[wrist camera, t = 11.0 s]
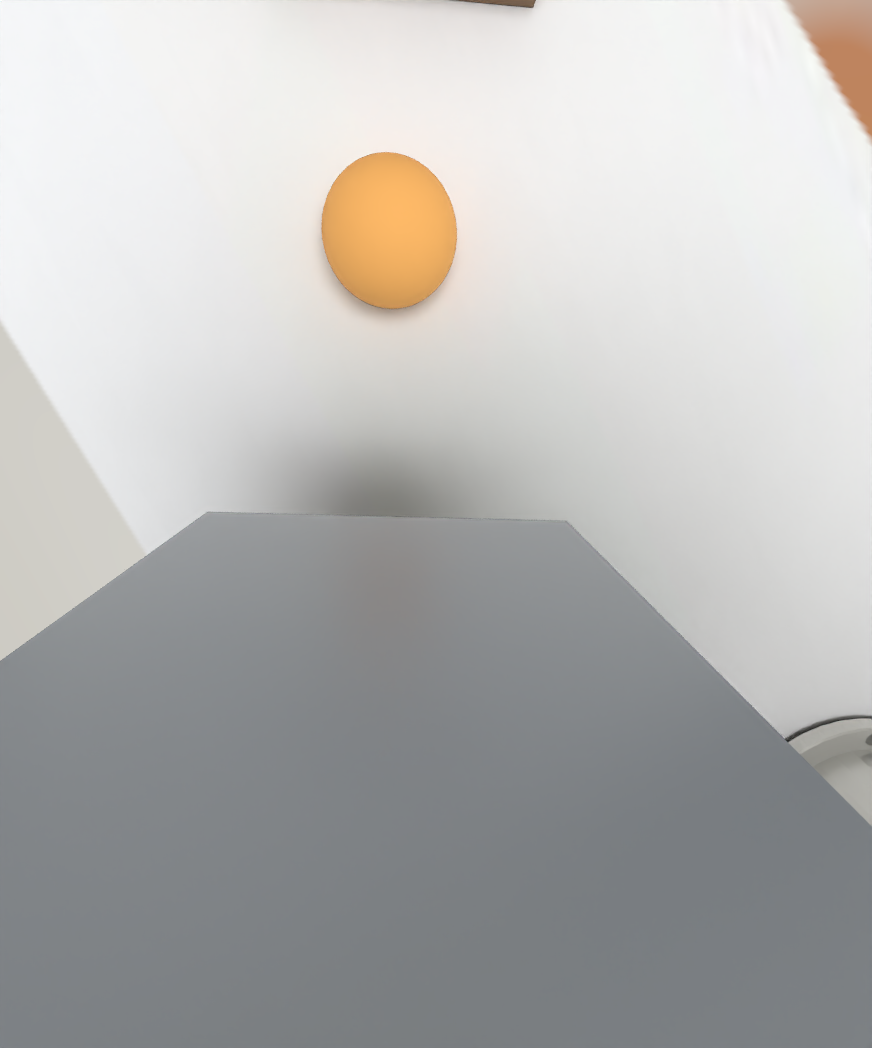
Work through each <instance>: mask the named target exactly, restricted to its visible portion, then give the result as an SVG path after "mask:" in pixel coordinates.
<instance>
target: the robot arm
mask: <svg viewBox="0 0 872 1048" xmlns="http://www.w3.org/2000/svg"><path fill="white" fill-rule="evenodd" d="M788 743H789V744H790V745H791V746H792V747H793V748H794V749H795V750H796V751H797V752H798V753H799V754H800V755H801V756H802V757H803V758H804V759H805V760H806V761H807V762H808V763H809V764H810V765H811V766H812V767H813V768H814V769H815V770H816V771H817V772H818V773H819V774H820V775H821V776H822V777H823V778H824V779H825V780H826V781H827V782H828V783H829V784H830V785H831V786H832V787H833V788H834V789H835V790H836V791H837V792H838V793H839V794H840V795H841V796H842V797H843V798H844V799H845V800H846V801H847V802H848V803H849V804H850V805H851V806H852V807H853V808H854V809H855V810H856V811H857V812H858V813H859V814H860V815H861V816H862V817H863V818H864V819H865V820H866V821H867V822H868V823H869V824H870V825H871V826H872V719H865V718H858V719H850V720H842V721H837V722H833V723H829V724H826V725H822V726H819V727H817V728H814V729H812V730H810V731H807V732H805V733H803V734H801V735H799V736H797V737H796V738H794V739H792V740H791V741H789V742H788Z"/></svg>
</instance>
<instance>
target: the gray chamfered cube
mask: <svg viewBox="0 0 872 1048" xmlns="http://www.w3.org/2000/svg"><path fill="white" fill-rule="evenodd" d="M0 1048H872V826H871V825H870V824H869V823H868V822H867V821H866V820H865V819H864V818H863V817H862V816H861V815H860V814H859V813H858V812H857V811H856V810H855V809H854V808H853V807H852V806H851V805H850V804H849V803H848V802H847V801H846V800H845V799H844V798H843V797H842V796H841V795H840V794H839V793H838V792H837V791H836V790H835V789H834V788H833V787H832V786H831V785H830V784H829V783H828V782H827V781H826V780H825V779H824V778H823V777H822V776H821V775H820V774H819V773H818V772H817V771H816V770H815V769H814V768H813V767H812V766H811V765H810V764H809V763H808V762H807V761H806V760H805V759H804V758H803V757H802V756H801V755H800V754H799V753H798V752H797V751H796V750H795V749H794V748H793V747H792V746H791V745H790V744H789V743H788V742H787V741H786V740H785V739H784V738H783V737H782V736H781V735H780V734H779V733H778V732H777V731H776V730H775V729H774V728H773V727H772V726H771V725H770V724H769V723H768V722H767V721H766V720H765V719H764V718H763V717H762V716H761V715H760V714H759V713H758V712H757V711H756V710H755V709H754V708H753V707H752V706H751V705H750V704H749V703H748V702H747V701H746V700H745V699H744V698H743V697H742V696H741V695H740V694H739V693H738V692H737V691H736V690H735V689H734V688H733V687H732V686H731V685H730V684H729V683H728V682H727V681H726V680H725V679H724V678H723V677H722V676H721V675H720V674H719V673H718V672H717V671H716V670H715V669H714V668H713V667H712V666H711V665H710V664H709V663H708V662H707V661H706V660H705V659H704V658H703V657H702V656H701V655H700V654H699V653H698V652H697V651H696V650H695V649H694V648H693V647H692V646H691V645H690V644H689V643H688V642H687V641H686V640H685V639H684V638H683V637H682V636H681V635H680V634H679V633H678V632H677V631H676V630H675V629H674V628H673V627H672V626H671V625H670V624H669V623H668V622H667V621H666V620H665V619H664V618H663V617H662V616H661V615H660V614H659V613H658V612H657V611H656V610H655V609H654V608H653V607H652V606H651V605H650V604H649V603H648V602H647V601H646V600H645V599H644V598H643V597H642V596H641V595H640V594H639V593H638V592H637V591H636V590H635V589H634V588H633V587H632V586H631V585H630V584H629V583H628V582H627V581H626V580H625V579H624V578H623V577H622V576H621V575H620V574H619V573H618V572H617V571H616V570H615V569H614V568H613V567H612V566H611V565H610V564H609V563H608V562H607V561H606V560H605V559H604V558H603V557H602V556H601V555H600V554H599V553H598V552H597V551H596V550H595V549H594V548H593V547H592V546H591V545H590V544H589V543H588V542H587V541H586V540H585V539H584V538H583V537H582V536H581V535H580V534H579V533H578V532H577V531H576V530H575V529H574V528H573V527H572V526H571V525H570V524H569V523H568V522H567V521H552V520H512V519H472V518H432V517H393V516H353V515H313V514H273V513H233V512H207V513H205V514H204V515H202V516H201V517H200V518H198V519H197V520H195V521H194V522H193V523H191V524H190V525H189V526H187V527H186V528H184V529H183V530H182V531H180V532H179V533H177V534H176V535H175V536H173V537H172V538H170V539H169V540H168V541H166V542H165V543H163V544H162V545H161V546H159V547H158V548H157V549H155V550H154V551H152V552H151V553H150V554H148V555H147V556H145V557H144V558H143V559H141V560H140V561H138V562H137V563H136V564H134V565H133V566H132V567H130V568H129V569H127V570H126V571H125V572H123V573H122V574H120V575H119V576H118V577H116V578H115V579H113V580H112V581H111V582H109V583H108V584H107V585H105V586H104V587H102V588H101V589H100V590H98V591H97V592H95V593H94V594H93V595H91V596H90V597H89V598H87V599H86V600H84V601H83V602H81V603H80V604H79V605H77V606H76V607H75V608H73V609H72V610H70V611H69V612H68V613H66V614H65V615H63V616H62V617H61V618H59V619H58V620H57V621H55V622H54V623H52V624H51V625H50V626H48V627H47V628H45V629H44V630H43V631H41V632H40V633H38V634H37V635H36V636H34V637H33V638H31V639H30V640H29V641H27V642H26V643H25V644H23V645H22V646H20V647H19V648H18V649H16V650H15V651H13V652H12V653H11V654H9V655H8V656H6V657H5V658H4V659H2V660H1V661H0Z"/></svg>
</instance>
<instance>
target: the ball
mask: <svg viewBox="0 0 872 1048" xmlns="http://www.w3.org/2000/svg"><path fill="white" fill-rule="evenodd" d="M322 240H323V245H324V249H325V253H326V256H327V259H328V262H329V264H330V266H331V268H332V270H333V272H334V273H335V275H336V276H337V278H338V279H339V281H340V282H341V283H342V284H343V285H344V287H345V288H346V289H347V290H348V291H349V292H351V293H352V294H353V295H354V296H356V297H357V298H358V299H360V300H362V301H364V302H366V303H368V304H370V305H373V306H376V307H381V308H387V309H397V308H404V307H408V306H412V305H414V304H416V303H418V302H420V301H422V300H424V299H425V298H427V297H428V296H429V295H431V294H432V293H433V292H434V291H435V290H436V289H437V288H438V287H439V285H440V284H441V283H442V282H443V280H444V278H445V277H446V275H447V273H448V271H449V269H450V267H451V264H452V261H453V258H454V254H455V249H456V241H457V228H456V219H455V215H454V210H453V207H452V204H451V201H450V199H449V196H448V195H447V193H446V191H445V189H444V187H443V185H442V184H441V183H440V181H439V180H438V179H437V177H436V176H435V175H434V174H433V173H432V172H431V171H430V170H429V169H428V168H427V167H425V166H424V165H422V164H421V163H420V162H418V161H416V160H415V159H412V158H410V157H408V156H405V155H402V154H398V153H390V152H381V153H374V154H370V155H367V156H365V157H362V158H360V159H358V160H356V161H355V162H353V163H352V164H350V165H349V166H348V167H347V168H346V169H345V170H344V171H343V172H342V173H341V174H340V175H339V176H338V177H337V179H336V180H335V182H334V183H333V185H332V187H331V189H330V191H329V193H328V195H327V198H326V201H325V204H324V209H323V214H322Z"/></svg>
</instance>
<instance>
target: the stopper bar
mask: <svg viewBox="0 0 872 1048" xmlns="http://www.w3.org/2000/svg"><path fill="white" fill-rule="evenodd" d="M460 1H471V2H481V3H492V4H503V5H513V6H524V7H533V6H534V3H535V1H536V0H460Z"/></svg>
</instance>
